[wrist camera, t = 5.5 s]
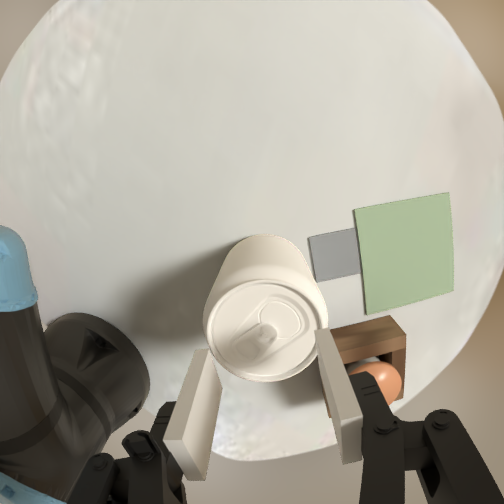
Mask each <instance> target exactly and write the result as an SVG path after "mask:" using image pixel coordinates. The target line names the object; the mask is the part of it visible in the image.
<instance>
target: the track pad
mask: <svg viewBox="0 0 504 504" xmlns="http://www.w3.org/2000/svg"><path fill="white" fill-rule="evenodd" d="M309 241H310V246H311V252H312V258H313V264H314V270H315V276H316V282H322V281H327V280H331V279H336V278H341V277H345V276H350V275H354V274H359V273H361V271H360V262H359V254H358V246H357V239H356V231H355V228H351V229H346V230H341V231H336V232H331V233H326V234H321V235H316V236H312V237H309Z"/></svg>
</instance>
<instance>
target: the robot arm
mask: <svg viewBox="0 0 504 504" xmlns="http://www.w3.org/2000/svg"><path fill="white" fill-rule="evenodd" d="M37 300H38V295H37V291H36V287H35V286H34V284H33V281H32V277H31V272H30V266H29V261H28V255H27V250H26V246H25V244H24V242H23V240H22V239H21V237H20V236H19V235H18V234H17V233H16V232H15V231H13V230H12V229H10V228H8V227H5V226H2V225H0V503H2V504H187V501H186V493H185V487H184V484H183V483H182V481H181V480H182V476H183V474H184V475H185V477H186V478H187V480H191V481H199V480H200V481H205V479H206V474H207V469H208V463H209V458H210V452H211V447H212V442H213V436H214V431H215V426H216V420H217V415H218V410H219V404H220V399H221V394H222V385H221V382H220V379H219V377H218V374H217V371H216V368H215V365H214V362H213V358H212V355H211V352H210V349H209V348H208V349H201V350H195V353H194V356H193V358H192V361H191V364H190V366H189V369H188V372H187V374H186V377H185V380H184V383H183V385H182V388H181V391H180V393H179V396H178V399H177V401H174V402H166V403H165V404H164V405H163V406H162V407H161V408H160V409H159V411H158V414H157V416H156V419H155V421H154V424H153V426H152V428H151V431H150V433H149V432H148V431H144V430H138V431H134V432H132V433H130V434H128V435H127V436H126V437H125V438H124V439H123V441H122V445H123V447H124V448H125V450H126V451H127V453H128V454H129V456H130V457H127V458H122V459H116V460H114V458H113V457H112V456H111V455H110V454H108V453H101V451H102V450H103V448H104V446H105V444H106V442H107V440H108V438H109V436H110V435H111V434H112V433H113V432H114V431H116V430H117V429H118V428H119V427H121V426H122V425H124V424H125V423H126V422H127V421H128V420H129V419H131V418H133V417H134V416H135V415H136V414H137V413H138V412H139V411H140V410H141V408H142V406H143V404H144V402H145V400H146V398H147V396H148V394H149V390H150V378H149V373H148V369H147V367H146V364H145V362H144V360H143V358H142V356H141V355H140V353H139V351H138V350H137V349H136V347H135V346H134V345H133V343H132V342H131V341H130V340H129V339H128V338H127V337H126V336H125V335H124V334H123V333H122V332H120V331H119V330H118V329H117V328H115V327H114V326H113V325H111V324H110V323H108V322H106V321H104V320H102V319H100V318H98V317H96V316H93V315H89V314H85V313H70V314H66V315H64V316H62V317H60V318H59V319H57V320H56V321H55V322H53V323H52V324H51V325H50V326H49V327H48V328H47V329H46V330H45V332H43V328H42V325H41V320H40V315H39V311H38V306H37ZM314 334H315V341H316V348H317V355H318V362H319V369H320V375H321V379H322V382H323V386H324V390H325V394H326V398H327V402H328V406H329V410H330V414H331V418H332V422H333V426H334V430H335V434H336V438H337V442H338V446H339V450H340V455H341V459H342V463H343V464H348V463H352V462H356V461H360V460H362V455H363V458H364V462H363V473H362V483H361V492H360V500H359V504H404V503H405V471H409V470H416V472H417V474H418V477H419V480H420V483H421V485H422V488H423V491H424V494H425V497H426V499H427V502H428V504H504V498H503V496H502V494H501V492H500V490H499V488H498V486H497V484H496V483H495V480H494V479H493V477H492V475H491V473H490V471H489V469H488V468H487V466H486V464H485V462H484V460H483V458H482V457H481V455H480V453H479V451H478V450H477V448H476V446H475V445H474V443H473V441H472V440H471V438H470V436H469V434H468V433H467V431H466V429H465V428H464V426H463V425H462V423H461V421H460V420H459V418H458V416H457V415H456V414H455V413H454V412H452V411H450V410H446V409H440V410H435V411H433V412H431V413H429V414H428V416H427V417H426V418H425V421H415V422H406V421H402V420H400V419H399V418H398V417H397V416H394V415H393V414H392V412H391V410H390V408H389V406H388V404H387V402H386V400H385V398H384V395H383V393H382V391H381V389H380V387H379V385H378V383H377V381H376V379H375V377H374V376H373V375H371V374H370V373H369V372H367V371H364V372H360V373H356V374H352V375H347V372H346V370H345V367H344V365H343V362H342V359H341V357H340V354H339V352H338V349H337V347H336V344H335V342H334V339H333V337H332V334H331V332H330V329H329V327H328V328H323V329H318V330H314Z"/></svg>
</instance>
